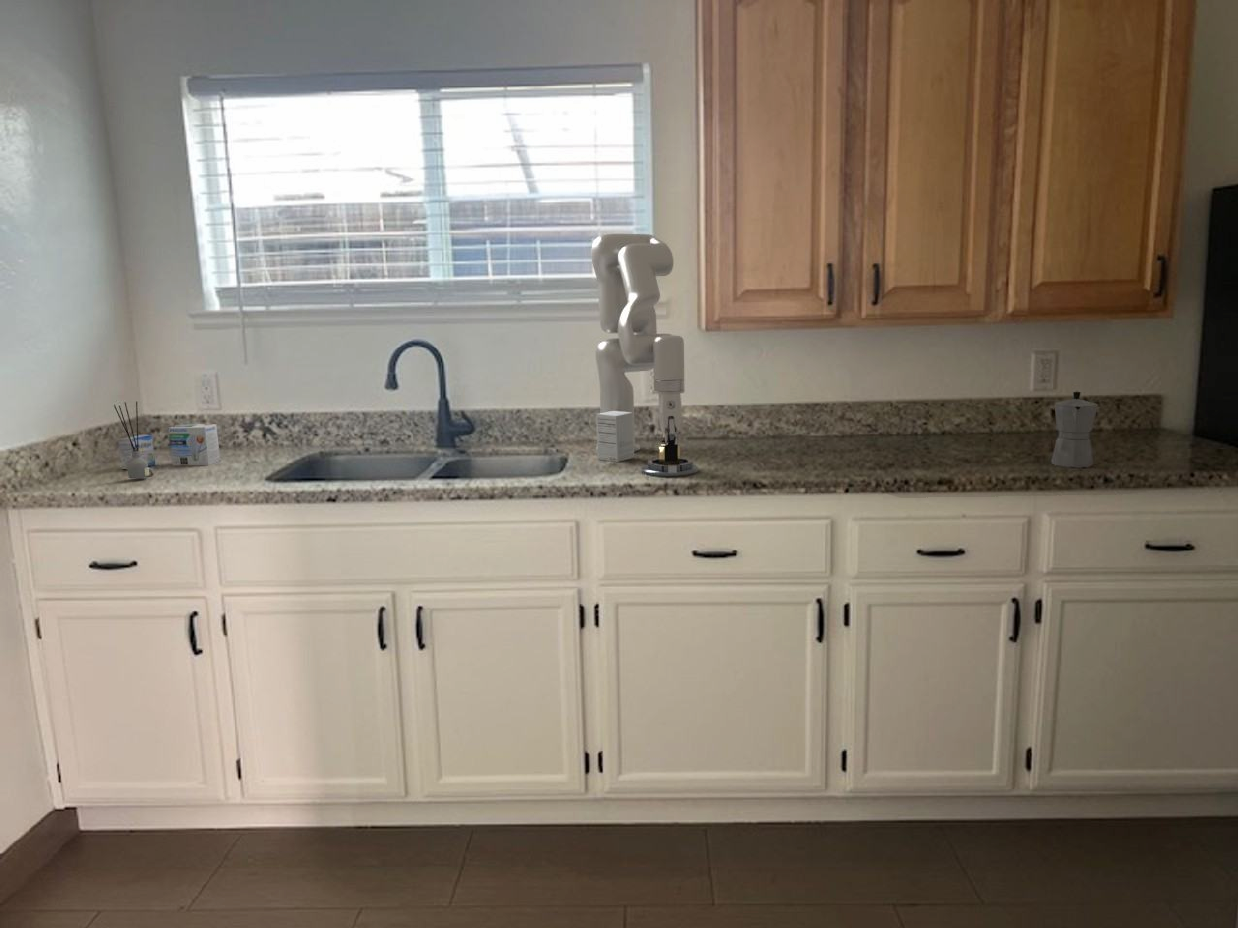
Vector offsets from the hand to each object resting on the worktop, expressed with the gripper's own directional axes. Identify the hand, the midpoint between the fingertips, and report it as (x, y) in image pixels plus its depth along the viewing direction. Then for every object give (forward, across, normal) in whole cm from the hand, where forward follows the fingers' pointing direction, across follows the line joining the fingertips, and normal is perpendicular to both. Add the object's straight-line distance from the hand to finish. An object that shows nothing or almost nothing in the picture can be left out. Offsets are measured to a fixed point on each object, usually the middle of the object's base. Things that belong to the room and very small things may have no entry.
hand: (669, 457), depth 219 cm
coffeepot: (+4, -4, -99) cm, 99 cm away
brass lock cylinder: (+2, 0, 0) cm, 3 cm away
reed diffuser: (+4, +10, +136) cm, 136 cm away
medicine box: (+4, +27, +144) cm, 147 cm away
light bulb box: (+4, +31, +130) cm, 134 cm away
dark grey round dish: (+3, 0, 0) cm, 3 cm away
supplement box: (+4, +20, +13) cm, 24 cm away
